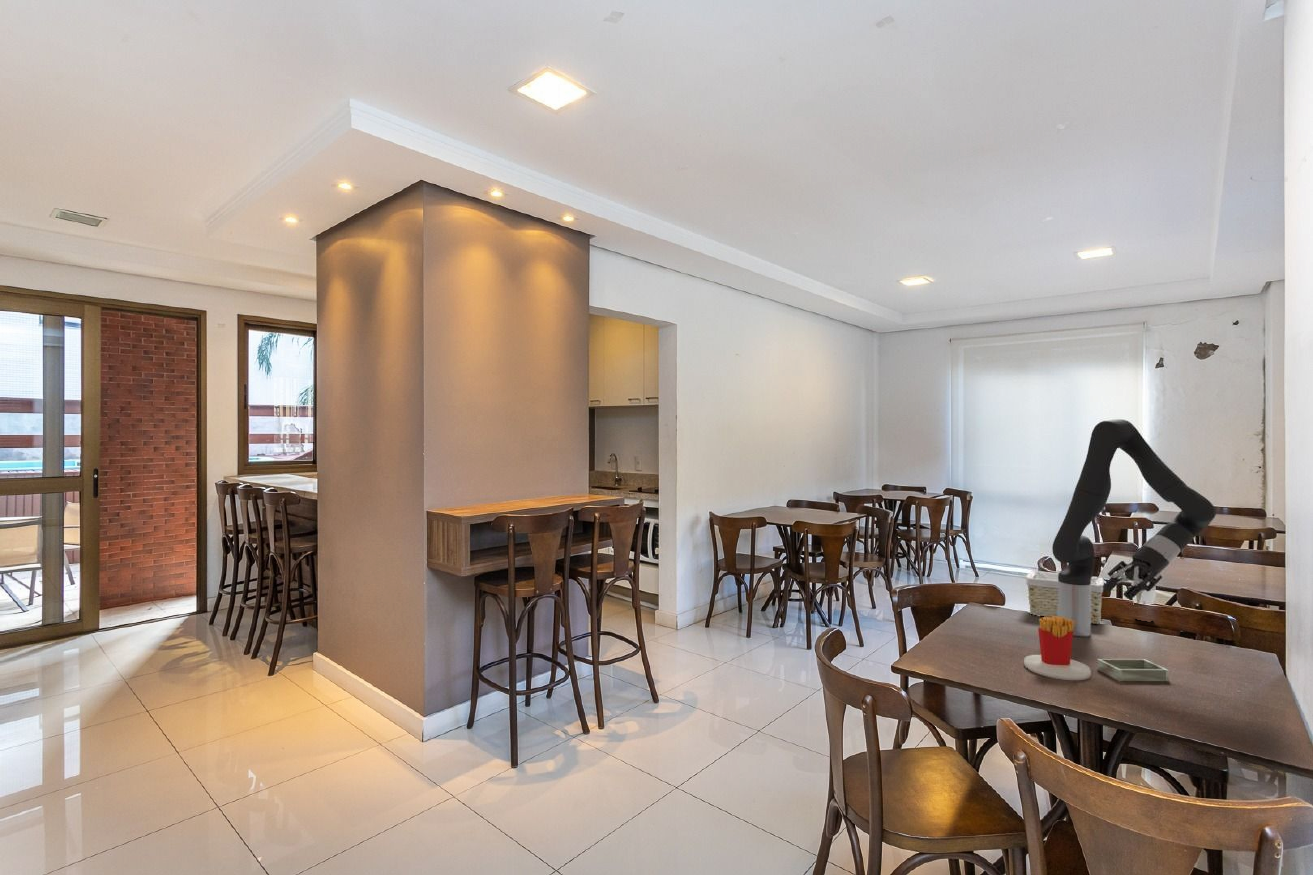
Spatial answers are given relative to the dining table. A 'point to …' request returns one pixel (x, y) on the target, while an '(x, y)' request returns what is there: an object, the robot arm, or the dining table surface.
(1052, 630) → the french fries
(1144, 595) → the beer glass
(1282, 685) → the dining table surface
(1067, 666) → the ceramic plate
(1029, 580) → the storage basket
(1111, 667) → the open rectangular box
